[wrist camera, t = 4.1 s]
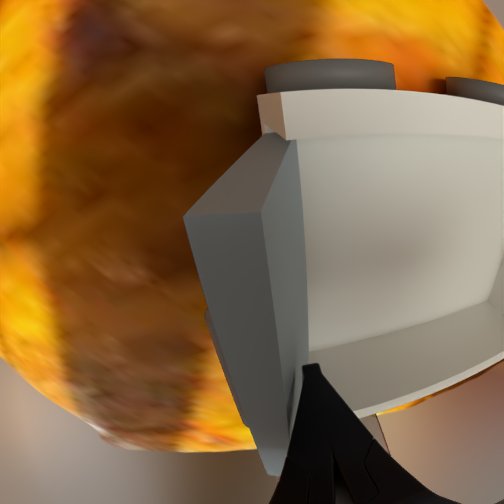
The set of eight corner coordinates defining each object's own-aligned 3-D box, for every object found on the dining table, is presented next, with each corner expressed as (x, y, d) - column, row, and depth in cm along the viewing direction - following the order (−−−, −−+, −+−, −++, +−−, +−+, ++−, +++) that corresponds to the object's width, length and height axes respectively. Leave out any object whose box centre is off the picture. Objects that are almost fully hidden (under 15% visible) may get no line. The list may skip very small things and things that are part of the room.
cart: (488, 88, 14) (587, 114, 5) (462, 288, 23) (516, 356, 14) (248, 75, 14) (273, 45, 5) (282, 331, 23) (303, 438, 15)
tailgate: (295, 130, 11) (261, 211, 4) (308, 353, 17) (293, 476, 10) (240, 135, 11) (130, 221, 5) (273, 352, 18) (247, 472, 11)
